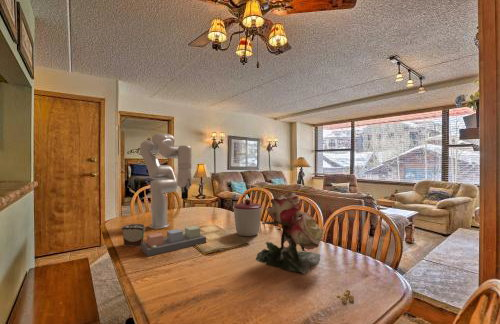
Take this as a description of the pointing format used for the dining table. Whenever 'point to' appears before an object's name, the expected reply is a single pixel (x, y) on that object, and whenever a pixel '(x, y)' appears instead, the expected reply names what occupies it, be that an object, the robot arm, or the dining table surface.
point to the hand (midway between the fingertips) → (184, 198)
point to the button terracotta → (154, 239)
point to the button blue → (174, 235)
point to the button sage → (192, 232)
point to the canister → (247, 218)
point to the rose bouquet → (292, 236)
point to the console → (171, 245)
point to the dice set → (346, 296)
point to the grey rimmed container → (133, 234)
